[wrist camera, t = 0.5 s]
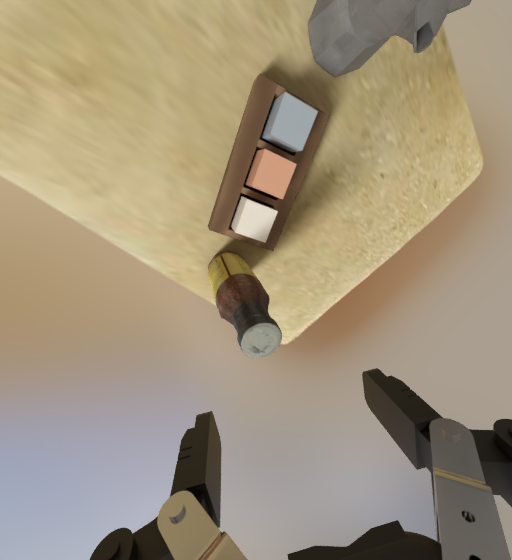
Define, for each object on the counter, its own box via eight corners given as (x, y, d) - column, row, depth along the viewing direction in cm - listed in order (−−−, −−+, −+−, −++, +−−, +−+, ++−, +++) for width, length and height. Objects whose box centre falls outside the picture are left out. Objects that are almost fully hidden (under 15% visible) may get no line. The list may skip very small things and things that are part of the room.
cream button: (230, 226, 36) (235, 232, 32) (241, 196, 34) (247, 199, 31) (258, 235, 37) (265, 242, 34) (269, 207, 36) (277, 211, 32)
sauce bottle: (215, 291, 42) (235, 381, 24) (201, 258, 39) (210, 333, 21) (252, 276, 42) (297, 354, 24) (240, 243, 39) (281, 304, 22)
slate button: (261, 137, 32) (270, 134, 29) (274, 100, 31) (285, 91, 27) (290, 152, 34) (302, 150, 30) (303, 117, 32) (318, 111, 29)
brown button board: (208, 225, 37) (209, 230, 34) (253, 81, 31) (259, 73, 29) (267, 245, 40) (273, 251, 38) (318, 119, 35) (329, 115, 32)
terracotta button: (245, 184, 34) (251, 186, 30) (256, 150, 33) (264, 148, 29) (273, 196, 35) (282, 199, 32) (285, 164, 34) (296, 164, 31)
